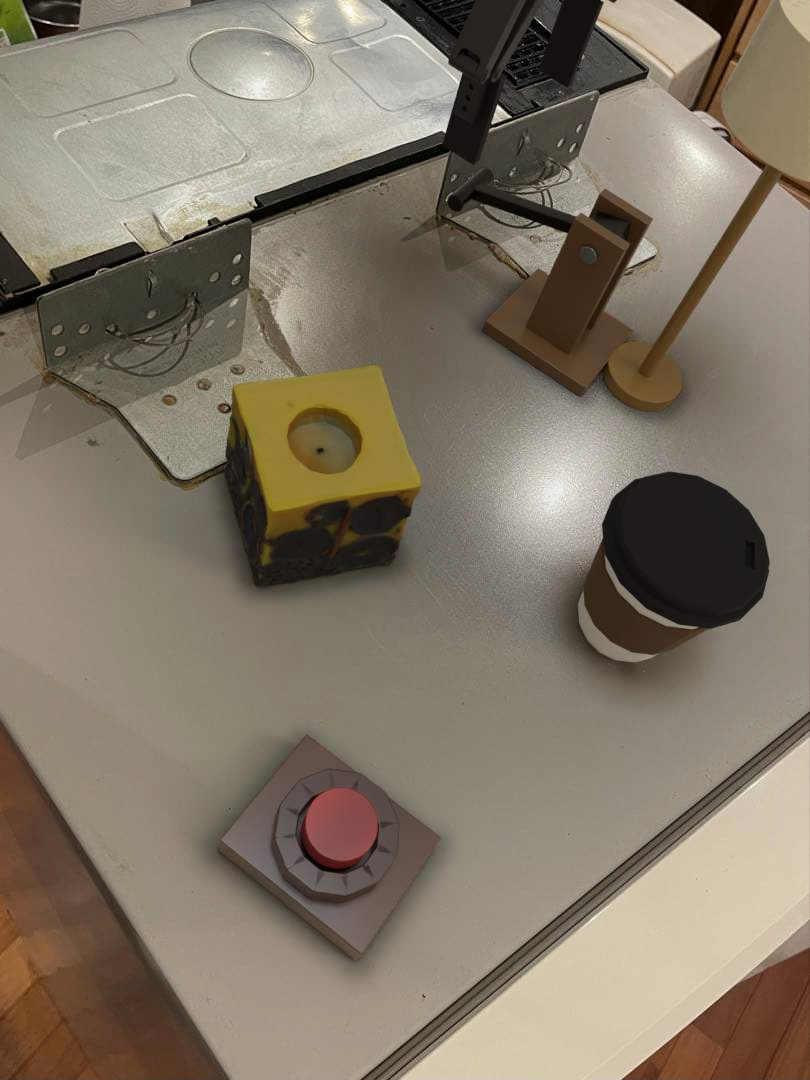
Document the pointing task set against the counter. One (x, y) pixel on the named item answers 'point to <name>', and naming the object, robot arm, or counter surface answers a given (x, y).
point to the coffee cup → (670, 566)
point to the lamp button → (339, 828)
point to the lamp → (786, 146)
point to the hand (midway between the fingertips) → (510, 113)
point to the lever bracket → (573, 300)
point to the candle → (318, 474)
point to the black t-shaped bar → (525, 206)
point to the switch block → (302, 883)
